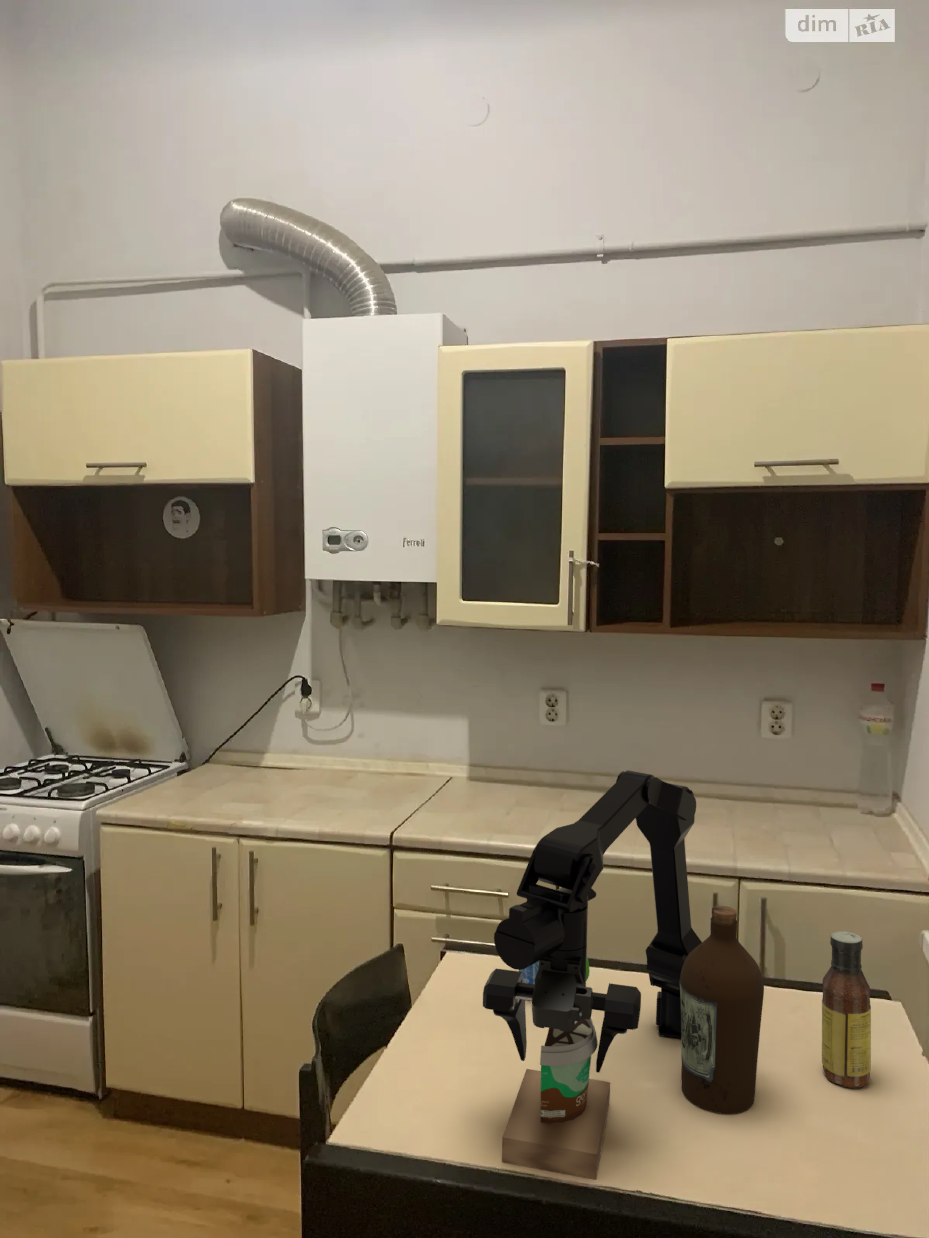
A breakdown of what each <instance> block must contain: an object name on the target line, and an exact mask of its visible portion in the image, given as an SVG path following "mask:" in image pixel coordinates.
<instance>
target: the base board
mask: <svg viewBox="0 0 929 1238" xmlns="http://www.w3.org/2000/svg"><path fill="white" fill-rule="evenodd" d="M610 1094H611V1082H610V1081H605V1080H600V1079H599V1080H598V1079H593V1078H589V1083H588V1093H587V1103H586V1108H585V1111H584V1112H583V1113H582V1115H580V1116H578V1117H577V1118H575V1119H574V1120H570V1121H567V1122H563V1123H541V1070H537V1069H531V1068H526V1070H525V1072H524V1074H523V1078H522V1081H521V1084H520V1085H519V1090H518V1092H517V1094H516V1098H515V1100H514V1103H513V1106H512V1109H511V1112H510V1115H509V1117H508V1121H507V1123H506V1126H505V1129H504V1132H503V1134H502V1137H501V1138H502V1139H501V1146H502V1147H501V1162H502V1163H505V1164H511V1165H517V1166H522V1167H528V1168H534V1169H538V1170H543V1171H544V1170H545V1171H549V1172H555V1173H560V1174H564V1175H571V1176H575V1177H581V1178H587V1179H592V1180H597V1178H598V1173H599V1172H598V1171H599V1165H600V1160H601V1153H602V1149H603V1143H604V1138H605V1131H606V1128H607V1122H608V1115H609V1109H610V1099H611V1097H610V1096H611V1095H610Z"/></svg>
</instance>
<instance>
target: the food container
mask: <svg viewBox="0 0 929 1238" xmlns="http://www.w3.org/2000/svg"><path fill="white" fill-rule="evenodd" d="M547 1031H548V1032H547V1035H546V1039H545V1043H544V1045H541V1046H540V1058H539V1059H540V1060H539V1061H540V1062H539V1065H540V1071H541V1123H563V1122H567V1121H570V1120H574V1119H575V1118H577V1117H578V1116H580V1115H582V1113H583V1112H584V1111H585V1108H586V1103H587V1093H588V1083H589V1079H590V1072H591V1063H592V1062H591V1061H592V1055H593V1054H594V1053H595V1051H596V1050H598V1049H597V1048H598V1047H599V1042H598V1035H597V1031H596V1027H595V1025H594V1023H593V1020H592V1018H591V1019H590V1020H588V1019H582V1022H578V1021H575V1024H574V1028H573V1029H572V1030H570V1031H560V1030H559V1029H553V1028H548V1030H547Z"/></svg>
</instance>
